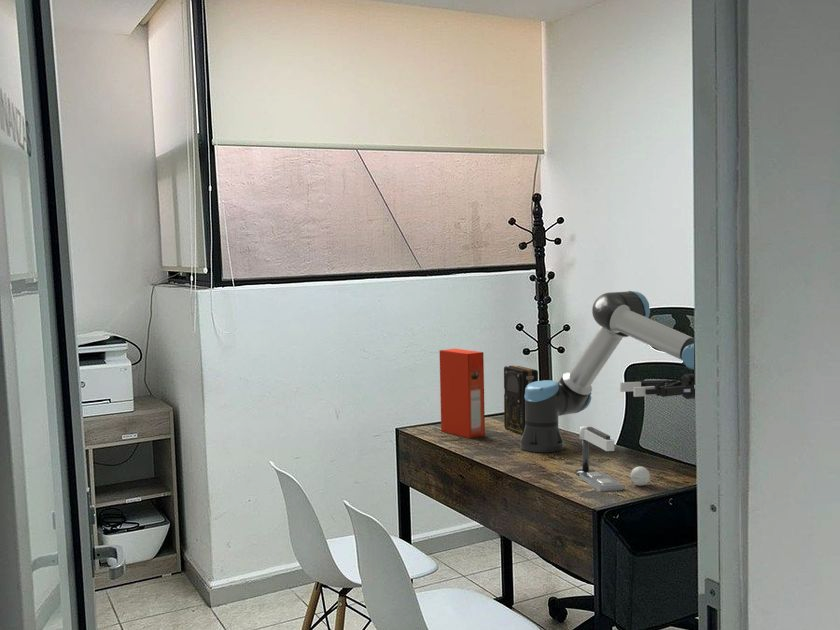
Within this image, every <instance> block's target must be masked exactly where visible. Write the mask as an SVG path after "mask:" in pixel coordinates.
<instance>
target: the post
mask: <svg viewBox="0 0 840 630" xmlns="http://www.w3.org/2000/svg"><path fill="white" fill-rule="evenodd" d="M581 440H582V439H581ZM581 442H582V443H581V445H582V446H581V450H582V451H581V453H582V455H581V458H582V460H581V464H582V466H581V467H582V468H578V469H576V470H575V475H576V476H578V477H579V473H585V472H596V470H595V469H592V468H590V442H588V441H587V440H582V441H581Z"/></svg>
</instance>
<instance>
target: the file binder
mask: <svg viewBox="0 0 840 630" xmlns="http://www.w3.org/2000/svg"><path fill="white" fill-rule="evenodd" d="M484 361H485V360H484V352H483V351H477V350H469V349H468V350H467V349H460V348H449V349H448V348H447V349H441V350H439V383H440V384H439V385H440V386H439V387H440V389H439V390H440V392H439V393H440V431H441V432H443V433H446V434H447V433H448V434H450V435H455V436H460V437H463V438H467V439H473V438H479V437H484V436H486V425H485V424H486V422H485V417H486V416H485V375H484V373H485V371H484V370H485V368H484V367H485V365H484V363H485V362H484Z"/></svg>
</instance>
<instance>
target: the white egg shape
mask: <svg viewBox="0 0 840 630" xmlns="http://www.w3.org/2000/svg"><path fill="white" fill-rule="evenodd" d="M629 475H630V479H631V482H632V483H633V484H634V485H636V486H640V487H641V486H645V485H647V484H648V483H649V481H650V480H651V475H650V472H649V470H648V469H647V468H646V467H644V466H636V467H634V468H632V470H631V472H630V474H629Z"/></svg>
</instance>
